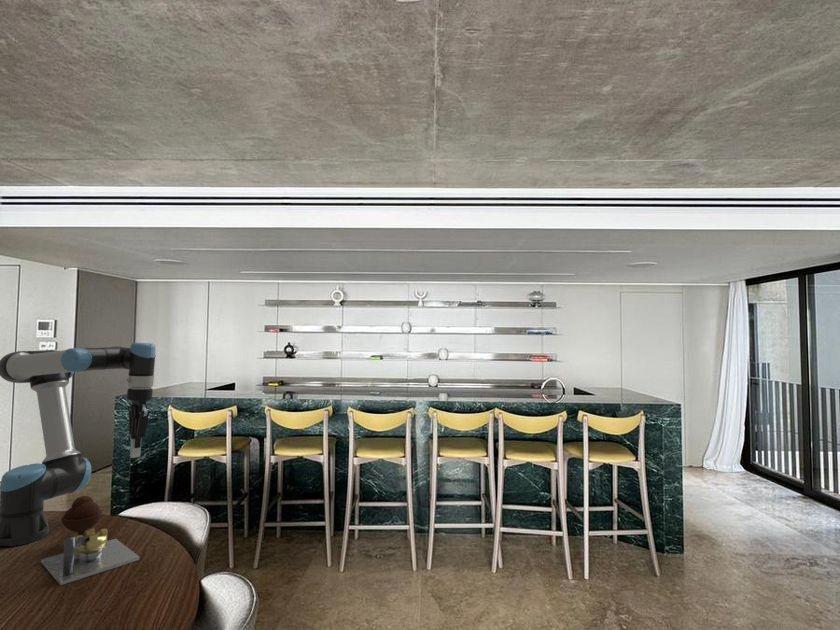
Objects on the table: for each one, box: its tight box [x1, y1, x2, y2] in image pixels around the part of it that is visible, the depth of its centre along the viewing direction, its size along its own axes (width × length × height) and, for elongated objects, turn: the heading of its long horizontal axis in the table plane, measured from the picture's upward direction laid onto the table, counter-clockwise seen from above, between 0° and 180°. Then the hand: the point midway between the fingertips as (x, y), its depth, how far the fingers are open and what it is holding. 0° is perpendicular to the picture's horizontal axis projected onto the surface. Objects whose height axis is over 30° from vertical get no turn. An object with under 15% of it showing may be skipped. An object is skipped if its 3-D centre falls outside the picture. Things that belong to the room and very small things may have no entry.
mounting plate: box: [40, 538, 140, 586], centre depth 146 cm, size 20×20×4 cm
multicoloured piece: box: [63, 527, 109, 575], centre depth 143 cm, size 15×8×10 cm, turn 0°
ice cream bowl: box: [61, 495, 103, 541], centre depth 159 cm, size 11×11×15 cm
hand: (135, 456), depth 164 cm, fingers closed
